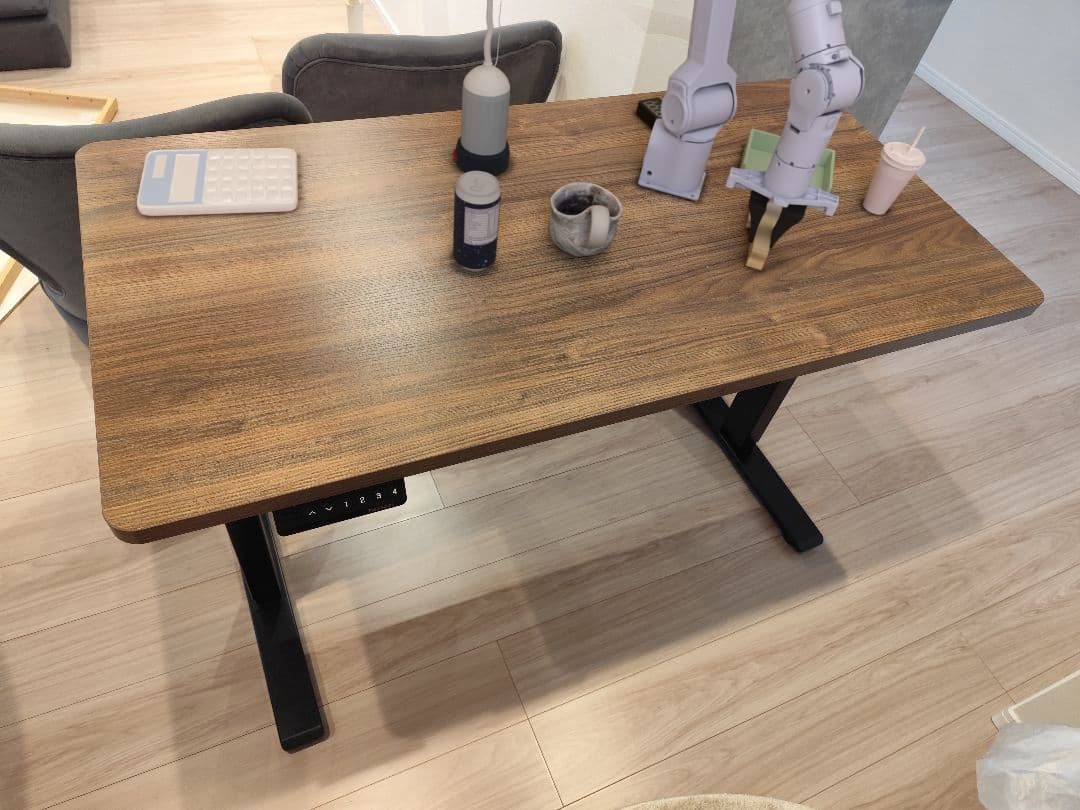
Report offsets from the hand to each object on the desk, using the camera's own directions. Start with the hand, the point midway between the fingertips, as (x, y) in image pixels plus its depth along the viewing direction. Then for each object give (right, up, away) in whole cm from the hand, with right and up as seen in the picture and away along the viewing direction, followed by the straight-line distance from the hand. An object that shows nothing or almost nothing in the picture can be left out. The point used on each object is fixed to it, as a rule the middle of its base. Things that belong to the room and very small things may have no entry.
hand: (760, 241), depth 104 cm
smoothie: (+22, +8, +13) cm, 27 cm away
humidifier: (-40, +14, +8) cm, 43 cm away
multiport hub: (-10, +24, +21) cm, 33 cm away
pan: (+10, +17, +18) cm, 27 cm away
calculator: (-75, +7, -2) cm, 75 cm away
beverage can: (-40, -4, -6) cm, 41 cm away
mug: (-25, -2, -2) cm, 25 cm away
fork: (+1, +2, +3) cm, 4 cm away
